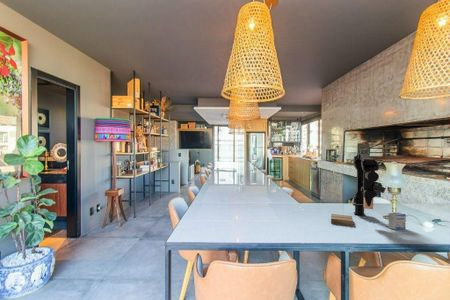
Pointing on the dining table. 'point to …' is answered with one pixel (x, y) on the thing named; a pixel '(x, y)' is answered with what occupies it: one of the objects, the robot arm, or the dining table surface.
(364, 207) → the terracotta block
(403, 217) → the medicine box
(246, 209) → the dining table surface
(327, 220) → the dining table surface
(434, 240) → the dining table surface
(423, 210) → the dining table surface
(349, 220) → the walnut base
